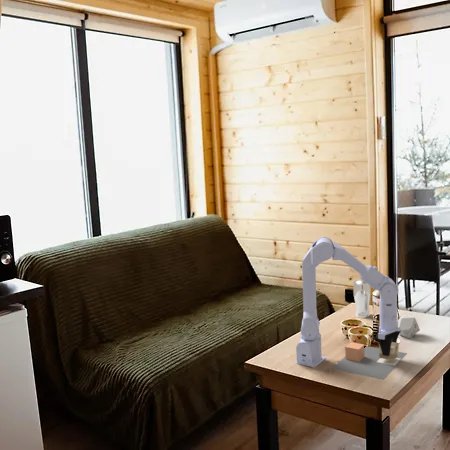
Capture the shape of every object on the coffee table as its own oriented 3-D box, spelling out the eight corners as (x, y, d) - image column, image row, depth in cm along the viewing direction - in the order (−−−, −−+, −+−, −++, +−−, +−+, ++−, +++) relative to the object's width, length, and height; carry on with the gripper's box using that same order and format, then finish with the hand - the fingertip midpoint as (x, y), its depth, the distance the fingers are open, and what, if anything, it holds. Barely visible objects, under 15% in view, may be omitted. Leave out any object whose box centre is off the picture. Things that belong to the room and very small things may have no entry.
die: (397, 341, 211) (413, 324, 207) (386, 325, 217) (401, 307, 213) (412, 344, 215) (428, 327, 211) (401, 327, 221) (416, 311, 217)
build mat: (383, 380, 178) (383, 379, 178) (331, 370, 188) (331, 368, 188) (407, 354, 197) (407, 352, 197) (358, 346, 207) (358, 344, 207)
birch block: (393, 360, 188) (393, 347, 187) (379, 357, 191) (379, 345, 190) (398, 355, 192) (398, 342, 191) (384, 352, 195) (384, 340, 194)
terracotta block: (359, 361, 192) (358, 349, 192) (345, 359, 195) (345, 346, 194) (364, 356, 196) (364, 344, 196) (351, 354, 199) (350, 342, 198)
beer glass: (360, 312, 245) (359, 279, 243) (373, 315, 240) (373, 281, 238) (350, 316, 241) (349, 282, 239) (364, 319, 236) (363, 285, 233)
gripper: (392, 322, 181) (393, 362, 183) (406, 310, 193) (406, 347, 195) (371, 319, 185) (372, 358, 187) (386, 307, 197) (387, 343, 199)
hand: (388, 352), depth 191 cm, fingers closed on birch block, 5 cm apart
